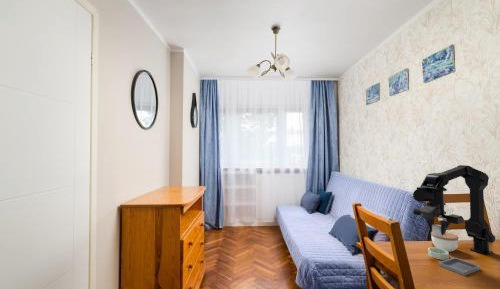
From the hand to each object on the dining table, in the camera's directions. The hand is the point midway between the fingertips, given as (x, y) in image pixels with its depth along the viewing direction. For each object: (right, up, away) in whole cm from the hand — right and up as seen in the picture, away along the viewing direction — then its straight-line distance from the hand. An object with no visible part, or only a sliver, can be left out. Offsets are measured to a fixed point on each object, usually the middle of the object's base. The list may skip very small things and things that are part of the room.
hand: (437, 233), depth 110 cm
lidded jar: (+10, -12, +7) cm, 17 cm away
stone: (0, -1, 0) cm, 1 cm away
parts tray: (0, -11, -11) cm, 16 cm away
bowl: (0, -11, 0) cm, 11 cm away
